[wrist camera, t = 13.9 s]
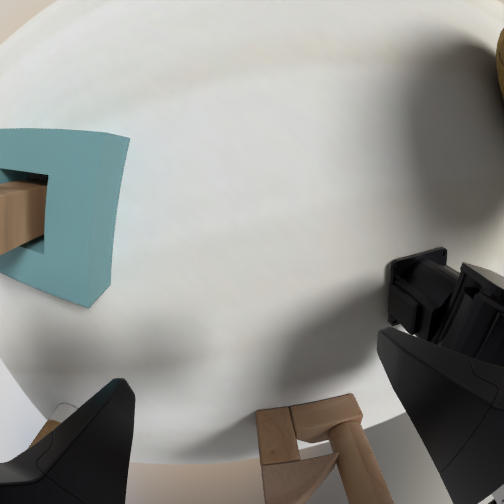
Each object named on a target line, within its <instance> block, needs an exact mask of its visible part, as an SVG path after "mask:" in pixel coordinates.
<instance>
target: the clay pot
mask: <svg viewBox="0 0 504 504" xmlns="http://www.w3.org/2000/svg"><path fill="white" fill-rule="evenodd" d="M496 66H497V74H498V80H499V86H500V91H501V94H502V97H503V99H504V28H503V30H502V31H501V33H500V37H499V40H498V43H497V50H496Z"/></svg>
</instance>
